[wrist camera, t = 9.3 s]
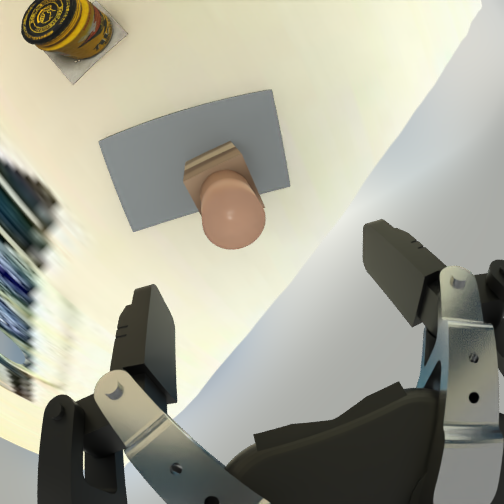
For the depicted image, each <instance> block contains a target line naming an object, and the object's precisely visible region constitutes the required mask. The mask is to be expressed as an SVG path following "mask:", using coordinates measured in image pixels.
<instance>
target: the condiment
mask: <svg viewBox="0 0 504 504" xmlns="http://www.w3.org/2000/svg"><path fill="white" fill-rule="evenodd" d="M21 33H22V36H23V38H24V39H25V40H26V41H27V42H28V43H31V44H35V45H36V46H37V47H38V48H39V49H41V50H43V51H44V52H45V53H46V54H47V55H48V56H49V57H50V58H51V60H52V61H53V62H54V63H55V64H56V65H57V67H58V68H59V69H60V70H61V71H62V73H63V74H64V75H65V76H66V77H67V78H68V80H69V81H70V82H71V83H72V84H73V85H74V83H75V82H76V81H77V80H78V79H79V78H80V77H81V76H82V75H83V74H84V73H85V72H86V71H87V70H88V69H89V68H90V67H91V66H92V65H93V64H94V63H95V62H97V61H98V60H99V59H100V58H101V57H102V56H103V55H104V54H105V53H107V52H108V51H109V50H110V49H111V48H112V47H113V46H115V45H116V44H117V43H118V42H119V41H121V40H122V39H123V38H124V37H125V36H126V35H127V34H128V33H127V32H126V31H125V30H124V29H123V28H122V27H121V26H120V25H119V24H118V23H117V22H116V20H115V19H114V18H113V17H112V16H111V15H110V14H109V13H108V12H107V11H106V10H105V9H104V8H103V7H102V6H101V5H100V4H99V3H98V2H97V1H96V0H95V1H94V2H93V3H91V2H89V1H88V0H35V1H34V2H33V3H32V4H31V5H30V6H29V8H28V9H27V11H26V12H25V14H24V16H23V20H22V29H21ZM78 60H80V61H78ZM74 61H77V62H74Z"/></svg>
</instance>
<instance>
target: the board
mask: <svg viewBox="0 0 504 504" xmlns="http://www.w3.org/2000/svg"><path fill="white" fill-rule="evenodd" d="M229 141H231V142H232V143H233V144H234V146H235V147H236V148H237V149H238V150H239V151H240V153H241V154H242V156H243V158H244V160H245V163H246V165H247V167H248V169H249V172H250V174H251V176H252V179H253V181H254V183H255V186H256V188H257V190H258V193H259V194H263V193H267V192H270V191H274V190H278V189H282V188H286V187H290V181H289V175H288V169H287V164H286V158H285V153H284V148H283V142H282V137H281V132H280V127H279V122H278V117H277V112H276V107H275V103H274V98H273V93H272V89H271V90H264V91H259V92H254V93H249V94H244V95H240V96H235V97H231V98H226V99H222V100H218V101H214V102H210V103H207V104H203V105H199V106H196V107H192V108H189V109H185V110H182V111H179V112H175V113H172V114H169V115H166V116H163V117H160V118H157V119H154V120H151V121H148V122H146V123H143V124H140V125H137V126H135V127H132V128H129V129H127V130H124V131H122V132H119V133H117V134H114V135H112V136H110V137H107V138H105V139H103V140H100V141H98V142H99V145H100V148H101V151H102V154H103V156H104V159H105V162H106V165H107V168H108V170H109V173H110V176H111V179H112V181H113V184H114V186H115V189H116V192H117V194H118V197H119V199H120V202H121V204H122V207H123V209H124V212H125V214H126V216H127V219H128V221H129V224H130V226H131V228H132V230H133V232H136V231H139V230H142V229H145V228H148V227H151V226H154V225H157V224H160V223H163V222H166V221H170V220H173V219H176V218H179V217H182V216H186V215H189V214H192V213H196V212H199V211H198V209H197V207H196V205H195V203H194V201H193V199H192V198H191V196H190V194H189V192H188V190H187V188H186V186H185V185H184V183H183V178H184V170H185V162H187V161H189V160H191V159H193V158H195V157H197V156H199V155H201V154H203V153H205V152H207V151H209V150H211V149H214V148H216V147H218V146H220V145H222V144H224V143H227V142H229Z"/></svg>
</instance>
